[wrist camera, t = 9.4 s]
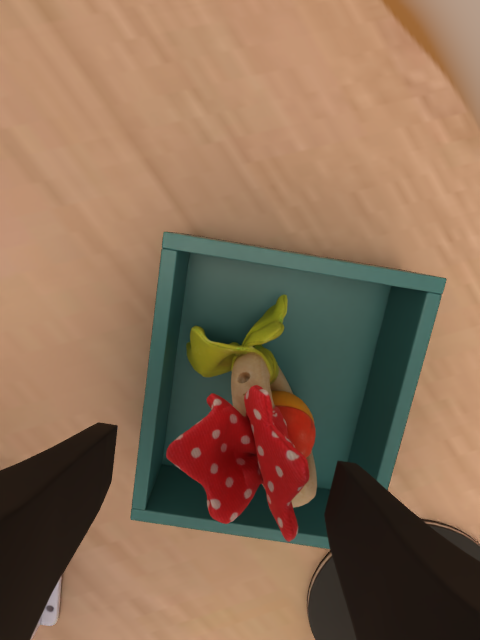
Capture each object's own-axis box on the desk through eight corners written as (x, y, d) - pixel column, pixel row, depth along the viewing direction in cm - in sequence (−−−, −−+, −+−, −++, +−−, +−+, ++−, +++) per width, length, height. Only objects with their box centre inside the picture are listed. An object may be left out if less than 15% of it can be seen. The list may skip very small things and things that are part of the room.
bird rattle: (325, 365, 24) (261, 252, 18) (434, 549, 14) (366, 424, 9) (239, 411, 24) (155, 315, 19) (291, 614, 15) (157, 531, 10)
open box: (345, 494, 24) (370, 555, 19) (152, 465, 24) (129, 520, 19) (402, 269, 21) (447, 278, 16) (181, 233, 21) (163, 231, 16)
